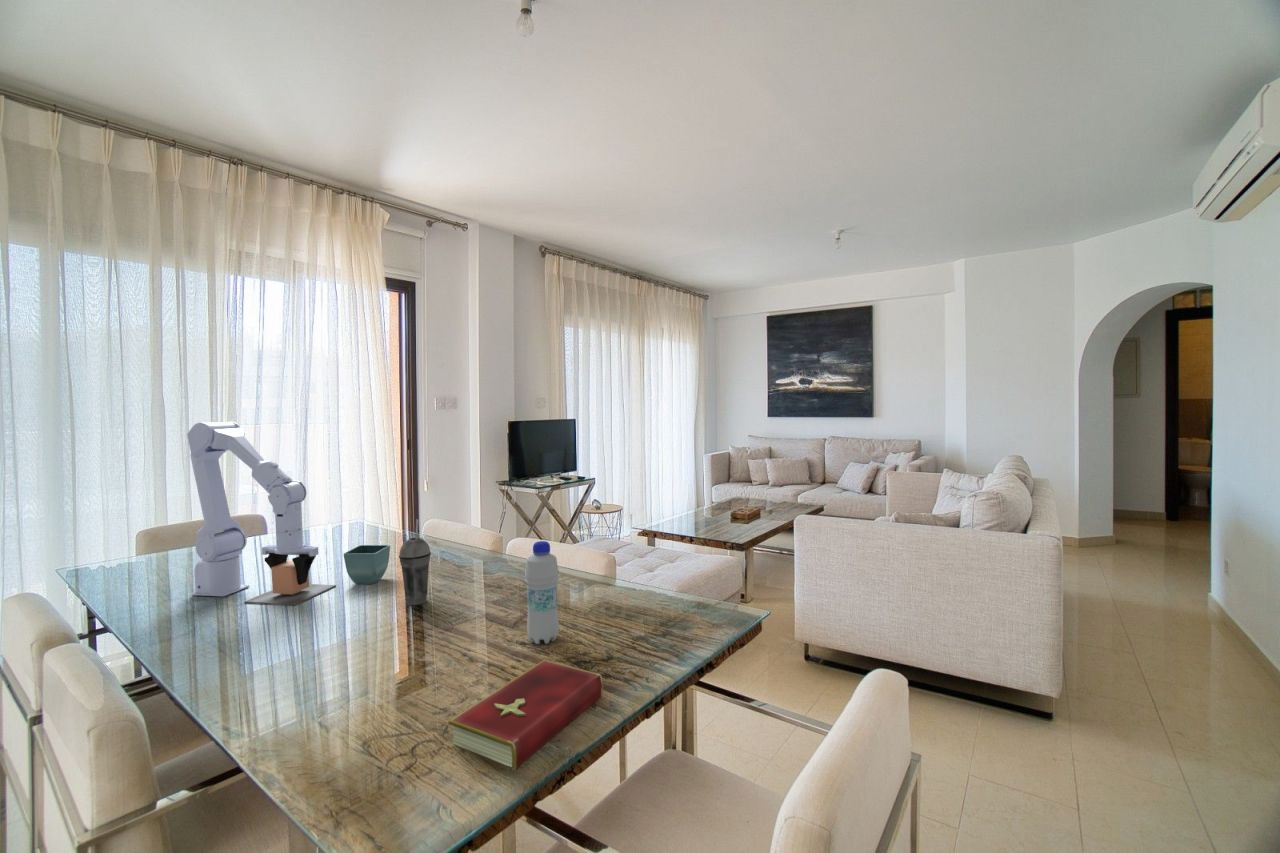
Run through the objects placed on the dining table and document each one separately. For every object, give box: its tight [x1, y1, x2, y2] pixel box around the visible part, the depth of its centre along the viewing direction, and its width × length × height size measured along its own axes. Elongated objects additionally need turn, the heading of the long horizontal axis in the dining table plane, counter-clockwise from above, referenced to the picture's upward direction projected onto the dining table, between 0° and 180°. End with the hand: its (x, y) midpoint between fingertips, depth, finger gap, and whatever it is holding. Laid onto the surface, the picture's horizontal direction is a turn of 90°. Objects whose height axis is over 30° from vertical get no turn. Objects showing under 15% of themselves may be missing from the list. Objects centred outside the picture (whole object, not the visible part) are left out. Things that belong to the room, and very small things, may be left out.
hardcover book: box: [448, 659, 604, 772], centre depth 85 cm, size 12×21×4 cm, turn 151°
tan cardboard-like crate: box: [270, 560, 310, 594], centre depth 142 cm, size 6×6×7 cm
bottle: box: [524, 540, 560, 645], centre depth 112 cm, size 7×7×20 cm
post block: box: [244, 583, 337, 607], centre depth 142 cm, size 14×14×5 cm
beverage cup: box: [398, 518, 432, 606], centre depth 135 cm, size 7×7×20 cm
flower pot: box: [343, 544, 391, 585], centre depth 152 cm, size 9×9×9 cm
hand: (291, 582), depth 142 cm, fingers closed on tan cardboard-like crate, 6 cm apart
